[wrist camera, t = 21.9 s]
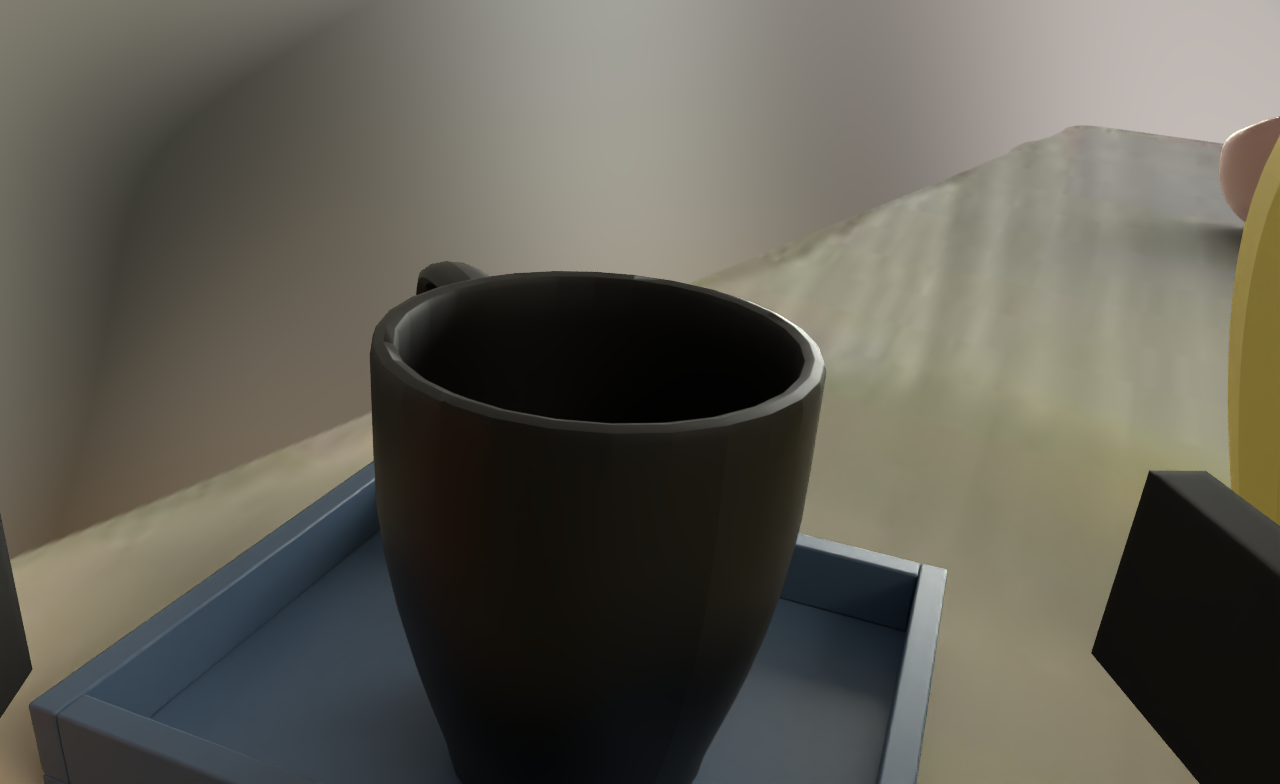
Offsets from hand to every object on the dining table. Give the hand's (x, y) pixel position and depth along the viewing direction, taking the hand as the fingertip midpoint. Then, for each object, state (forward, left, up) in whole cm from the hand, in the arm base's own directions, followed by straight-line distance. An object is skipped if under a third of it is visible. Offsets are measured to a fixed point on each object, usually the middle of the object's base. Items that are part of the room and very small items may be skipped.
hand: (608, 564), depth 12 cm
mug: (-4, +8, -10) cm, 13 cm away
